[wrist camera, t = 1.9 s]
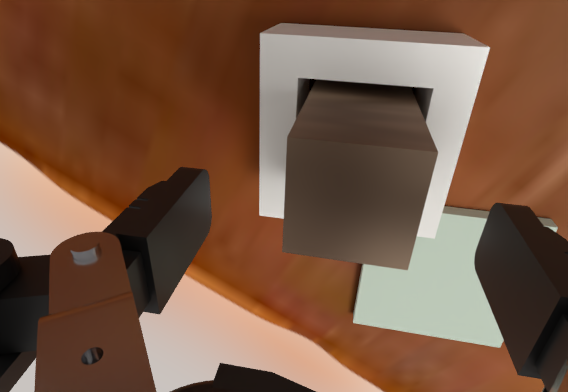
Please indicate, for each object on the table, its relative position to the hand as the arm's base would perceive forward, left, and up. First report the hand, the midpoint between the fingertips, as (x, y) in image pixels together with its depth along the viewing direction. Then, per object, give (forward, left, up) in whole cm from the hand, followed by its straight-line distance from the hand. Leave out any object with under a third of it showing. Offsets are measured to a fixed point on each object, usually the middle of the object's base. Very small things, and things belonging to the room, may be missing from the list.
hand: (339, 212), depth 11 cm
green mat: (-6, +9, -9) cm, 14 cm away
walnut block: (0, 0, -9) cm, 9 cm away
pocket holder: (0, 0, -9) cm, 9 cm away
